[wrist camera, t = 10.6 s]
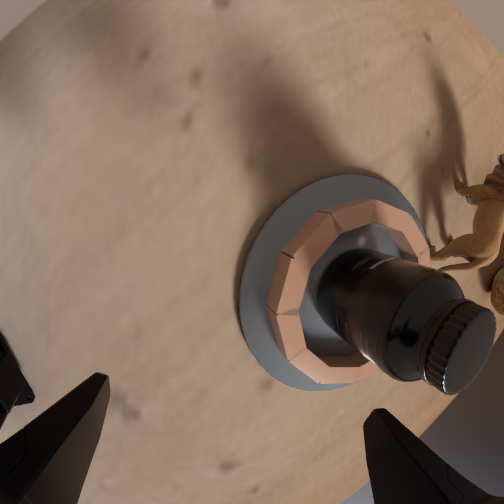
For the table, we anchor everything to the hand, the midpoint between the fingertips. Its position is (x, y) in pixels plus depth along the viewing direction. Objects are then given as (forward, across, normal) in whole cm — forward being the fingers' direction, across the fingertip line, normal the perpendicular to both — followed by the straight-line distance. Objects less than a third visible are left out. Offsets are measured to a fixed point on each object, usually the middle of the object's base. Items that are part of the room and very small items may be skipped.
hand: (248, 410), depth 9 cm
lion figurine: (+19, -20, -7) cm, 28 cm away
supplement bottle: (+14, -9, +2) cm, 16 cm away
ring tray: (+14, -9, +2) cm, 17 cm away
